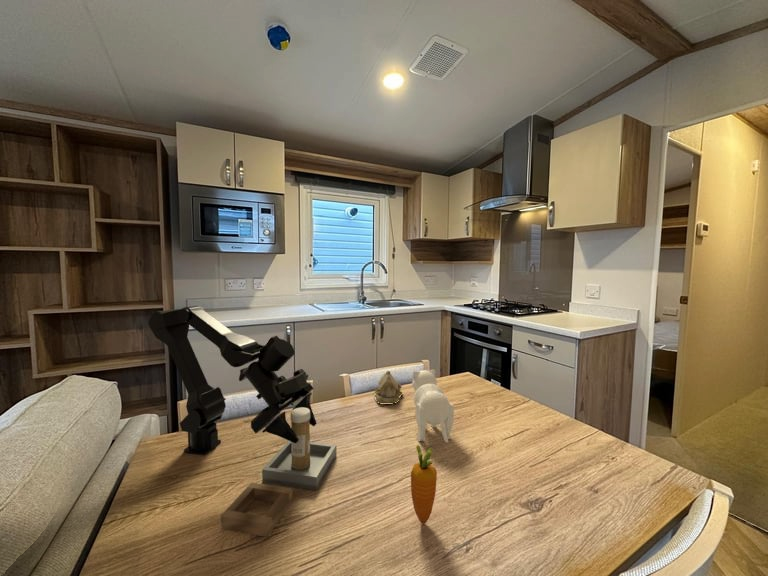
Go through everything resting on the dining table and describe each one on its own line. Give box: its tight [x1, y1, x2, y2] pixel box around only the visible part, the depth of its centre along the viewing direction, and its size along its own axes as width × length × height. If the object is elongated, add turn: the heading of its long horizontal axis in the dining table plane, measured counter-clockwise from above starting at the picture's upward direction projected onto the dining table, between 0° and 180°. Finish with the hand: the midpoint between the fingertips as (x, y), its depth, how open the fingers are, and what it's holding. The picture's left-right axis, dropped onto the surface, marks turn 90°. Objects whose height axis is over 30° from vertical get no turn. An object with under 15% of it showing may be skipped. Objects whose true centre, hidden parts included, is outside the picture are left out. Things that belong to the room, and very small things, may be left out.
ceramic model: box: [374, 370, 403, 403], centre depth 121 cm, size 14×11×10 cm
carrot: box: [410, 444, 438, 525], centre depth 61 cm, size 5×5×15 cm
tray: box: [261, 440, 337, 491], centre depth 78 cm, size 13×13×3 cm
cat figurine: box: [408, 369, 455, 443], centre depth 94 cm, size 25×10×17 cm, turn 12°
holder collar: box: [220, 482, 293, 538], centre depth 63 cm, size 10×10×2 cm
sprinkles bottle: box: [290, 407, 311, 470], centre depth 77 cm, size 5×5×14 cm
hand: (306, 433), depth 77 cm, fingers open, 8 cm apart
